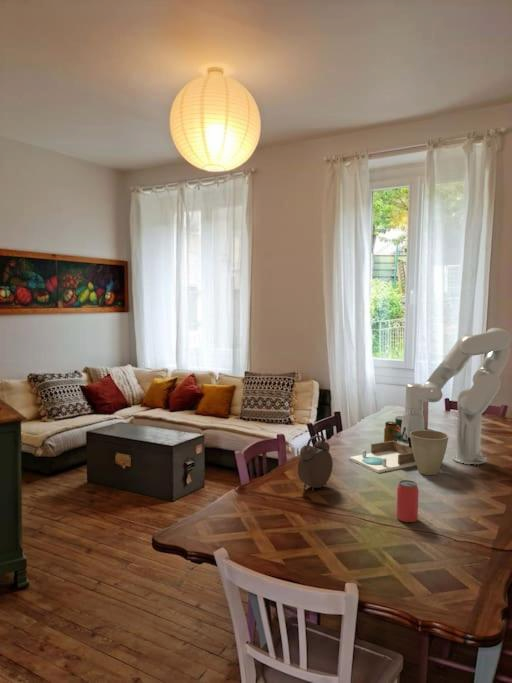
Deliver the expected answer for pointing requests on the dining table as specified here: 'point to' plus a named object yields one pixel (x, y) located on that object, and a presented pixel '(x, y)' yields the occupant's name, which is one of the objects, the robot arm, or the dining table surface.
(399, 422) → the canned tomato
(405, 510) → the beer can
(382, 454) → the board
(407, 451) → the tray
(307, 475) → the alarm clock
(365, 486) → the dining table surface
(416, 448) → the plant pot
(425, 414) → the pink box
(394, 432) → the condiment
